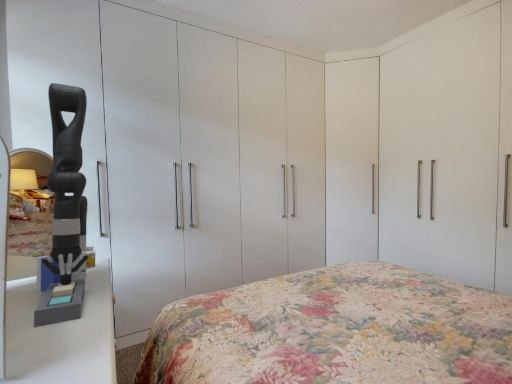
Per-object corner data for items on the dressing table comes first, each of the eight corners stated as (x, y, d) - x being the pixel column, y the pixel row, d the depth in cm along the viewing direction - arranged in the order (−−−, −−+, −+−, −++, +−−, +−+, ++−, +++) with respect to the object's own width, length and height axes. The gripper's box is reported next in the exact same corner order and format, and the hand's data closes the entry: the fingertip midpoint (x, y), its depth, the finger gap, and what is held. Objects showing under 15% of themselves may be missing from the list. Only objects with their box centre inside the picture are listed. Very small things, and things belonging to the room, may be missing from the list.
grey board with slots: (49, 295, 90) (49, 283, 90) (84, 290, 95) (84, 279, 95) (34, 326, 70) (34, 311, 70) (80, 318, 75) (80, 303, 75)
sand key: (54, 298, 83) (54, 286, 83) (73, 295, 86) (73, 284, 86) (52, 303, 79) (52, 291, 79) (72, 300, 82) (72, 288, 82)
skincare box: (65, 288, 97) (66, 254, 97) (66, 284, 101) (66, 252, 101) (86, 285, 101) (86, 252, 101) (85, 282, 104) (86, 250, 104)
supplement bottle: (78, 268, 122) (78, 247, 123) (87, 265, 128) (87, 244, 128) (89, 269, 122) (89, 247, 122) (97, 265, 127) (98, 245, 127)
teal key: (51, 310, 77) (51, 298, 77) (71, 307, 80) (71, 295, 80) (48, 317, 73) (48, 304, 73) (69, 313, 75) (69, 301, 75)
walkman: (61, 290, 95) (61, 256, 95) (53, 292, 93) (53, 258, 93) (44, 287, 97) (44, 254, 98) (36, 290, 95) (36, 256, 95)
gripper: (90, 229, 95) (89, 279, 95) (43, 232, 88) (42, 285, 88) (89, 232, 89) (89, 285, 88) (38, 235, 82) (37, 292, 82)
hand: (65, 285), depth 88 cm, fingers closed
